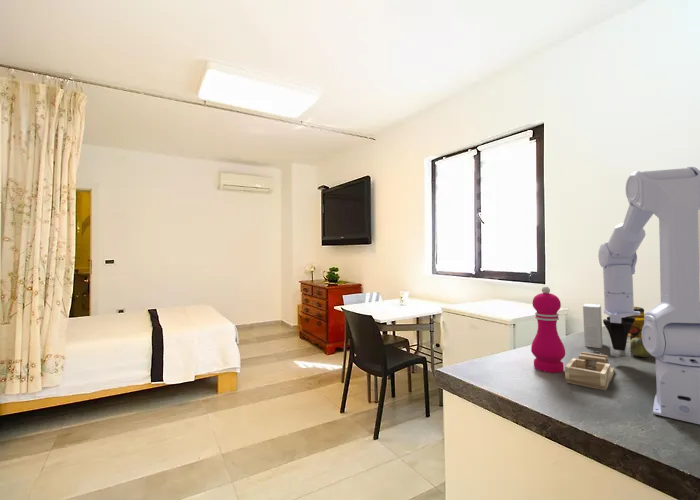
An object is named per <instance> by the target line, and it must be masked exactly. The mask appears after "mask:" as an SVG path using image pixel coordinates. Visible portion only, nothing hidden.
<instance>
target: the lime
mask: <svg viewBox="0 0 700 500" xmlns="http://www.w3.org/2000/svg"><path fill="white" fill-rule="evenodd" d="M630 344H631V355H634V356H636V357H640V358H648V357H649V356H651V354H650V353H649V352H648V351H647V350H646V349H645V347H644V345H643V342H642V339H641V338H633V339H632V340H630Z"/></svg>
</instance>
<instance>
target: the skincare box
mask: <svg viewBox="0 0 700 500" xmlns="http://www.w3.org/2000/svg"><path fill="white" fill-rule="evenodd" d="M582 314H583V338H584V339H583V341H584V346H585V347H588V348H596V349H602V347H603V344H604V343H603V342H604V341H603V321H602V320H603V319H602V317H603V316H602V305H601V304H599V303H598V304H597V303H596V304H595V303H584V304H583V306H582Z"/></svg>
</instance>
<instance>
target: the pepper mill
mask: <svg viewBox="0 0 700 500" xmlns="http://www.w3.org/2000/svg"><path fill="white" fill-rule="evenodd" d="M550 292H551V289H550V288H549V286H544V287H542V289H541V293H538V294H536V295H535V296H534V297H533V299H532V307H533V309H534V310H535V313H534V314H535V319H536V320H537V330H536V331H537V332H536V334H535V336H534V338H533V340H532V342H531V347H530V348H531V349H530V351H531V353H532V355H533V356H534V357H535V358H534V359H533V367H534V369H536V370H537V371H541V372H543V373H549V374H550V373H551V374H557V373H558V374H559V373H562V372H564V371H565V367H564V362H562V360H563V359H564V358H565V356H566V348H565V346H564V343H563V341H562V340H561V337H560V335H559V334H558V333H559V332H558V329H557V328H558V327H557V323H558V322H557V321H558V320H559V319H560V318H559V315H560V314H559V313H558V312H559V310H561V305H562V304H561V299H560V298H559V297H558V295H555V294H553V293H550Z"/></svg>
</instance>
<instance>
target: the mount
mask: <svg viewBox="0 0 700 500" xmlns="http://www.w3.org/2000/svg"><path fill="white" fill-rule="evenodd" d="M588 360H595V361H598V362H597V363H596V368H593V367H588ZM615 373H616V372H615V367H611V363H609V360H608V355H605V354H603V355H601V354H594V352H587V351H581V352H580V353H579V354H578V358H574V357H573V358H572V359H570V361H569V362H568V363H567V364H565V366H564V378H565V383H568V384H572V385H577V386H580V387H581V386H582V387H587V388H590V389H591V388H592V389H597V390H601V391H607V389H608V387H609V385H610V384H611V381H612V378H613V376H614V374H615Z"/></svg>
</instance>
